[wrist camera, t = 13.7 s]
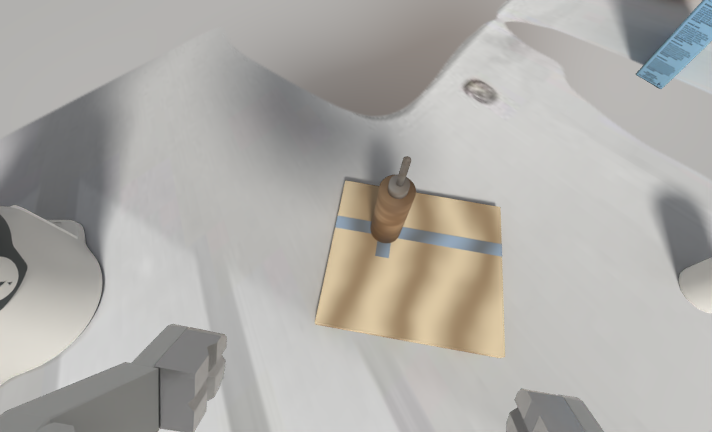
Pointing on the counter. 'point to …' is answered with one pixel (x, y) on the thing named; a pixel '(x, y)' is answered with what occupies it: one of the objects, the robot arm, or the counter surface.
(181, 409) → the robot arm
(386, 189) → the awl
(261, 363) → the counter surface
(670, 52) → the gum box
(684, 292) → the white cup
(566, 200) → the counter surface
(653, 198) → the counter surface
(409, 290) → the plywood panel
